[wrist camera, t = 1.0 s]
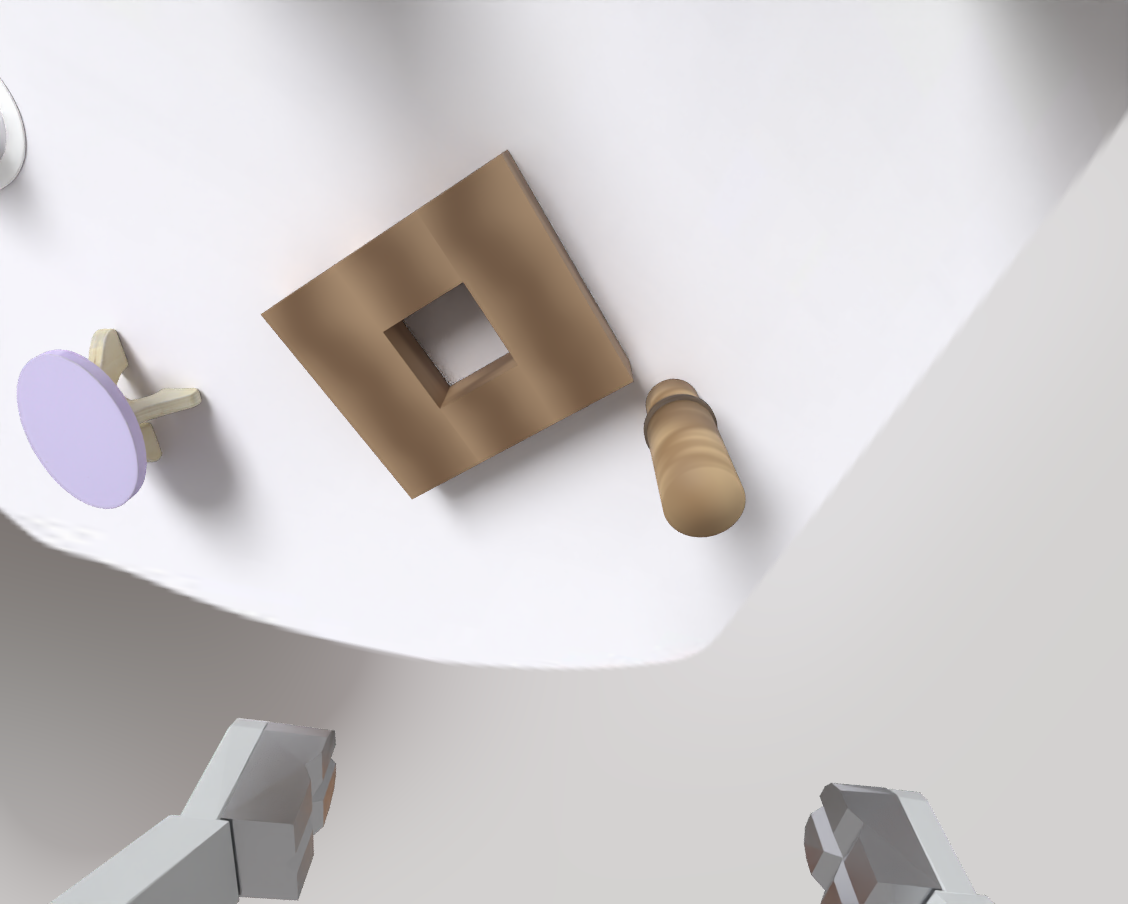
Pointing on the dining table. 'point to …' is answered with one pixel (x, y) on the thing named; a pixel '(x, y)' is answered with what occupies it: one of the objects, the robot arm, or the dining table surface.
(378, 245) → the board
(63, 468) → the toy table
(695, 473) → the peg
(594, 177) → the dining table surface
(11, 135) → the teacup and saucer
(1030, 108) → the dining table surface
